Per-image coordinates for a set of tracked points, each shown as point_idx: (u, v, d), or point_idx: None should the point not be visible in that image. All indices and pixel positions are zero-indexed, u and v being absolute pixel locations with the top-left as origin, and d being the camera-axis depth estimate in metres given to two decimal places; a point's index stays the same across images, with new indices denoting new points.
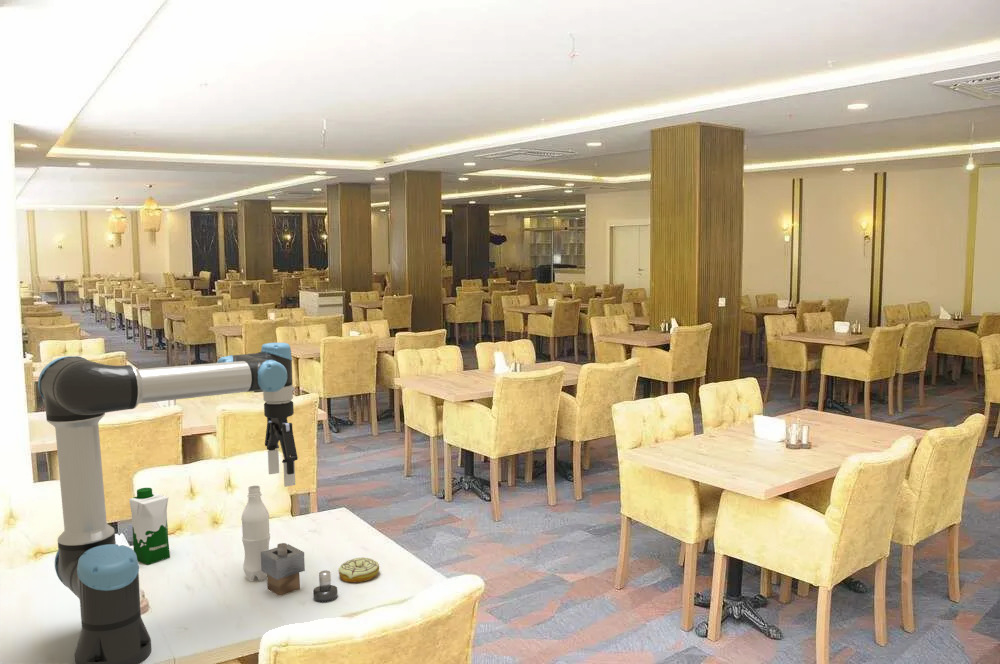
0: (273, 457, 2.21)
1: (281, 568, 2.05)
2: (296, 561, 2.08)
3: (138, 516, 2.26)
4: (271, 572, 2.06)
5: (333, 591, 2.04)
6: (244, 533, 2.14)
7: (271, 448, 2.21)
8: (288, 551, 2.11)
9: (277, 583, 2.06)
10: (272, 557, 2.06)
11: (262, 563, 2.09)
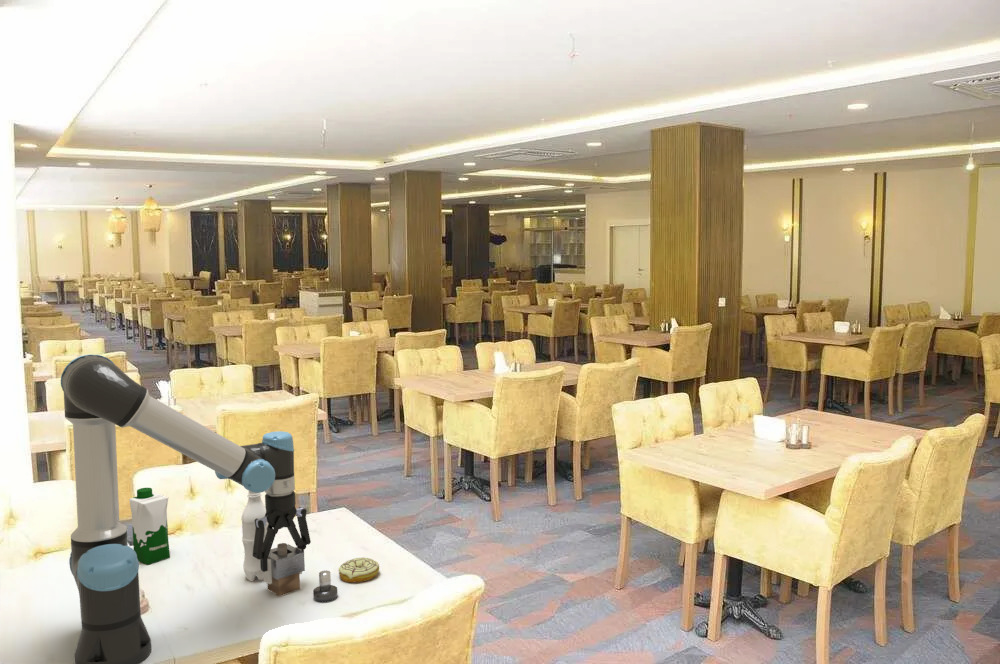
0: None
1: (281, 568, 2.05)
2: (296, 561, 2.08)
3: (138, 516, 2.26)
4: (271, 572, 2.06)
5: (333, 591, 2.04)
6: (244, 533, 2.14)
7: (297, 545, 2.13)
8: (288, 551, 2.11)
9: (277, 583, 2.06)
10: (272, 557, 2.06)
11: None
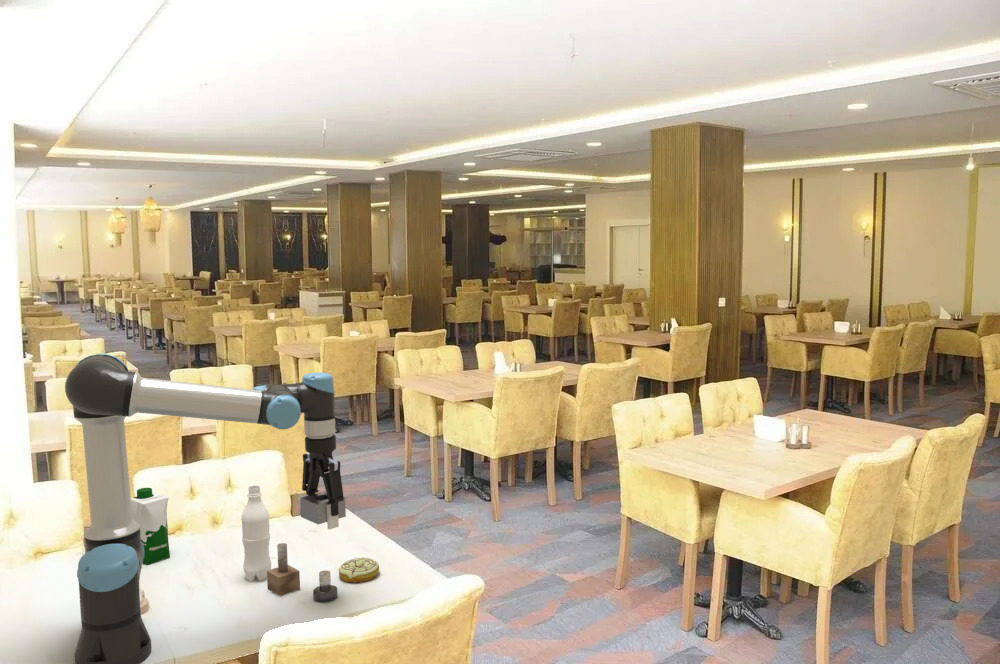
0: None
1: None
2: None
3: (138, 516, 2.26)
4: None
5: (333, 591, 2.04)
6: (244, 533, 2.14)
7: (311, 492, 2.06)
8: (316, 498, 2.04)
9: (277, 583, 2.06)
10: None
11: (320, 514, 1.98)
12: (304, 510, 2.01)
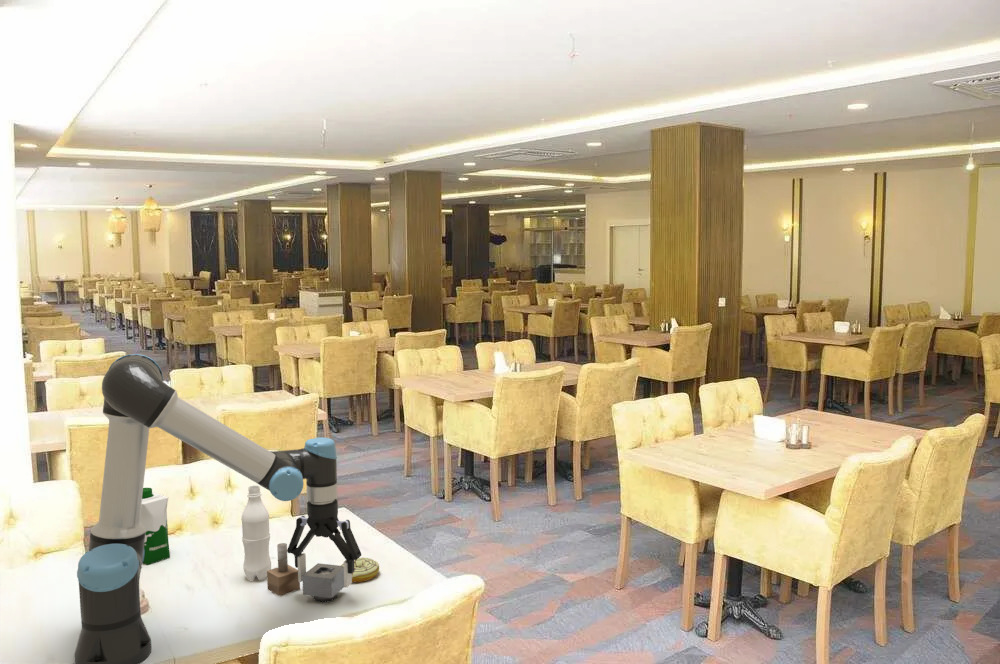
0: (302, 562, 2.06)
1: None
2: None
3: None
4: (341, 585, 2.05)
5: None
6: (244, 533, 2.14)
7: (299, 553, 2.06)
8: (316, 572, 2.05)
9: (277, 583, 2.06)
10: (339, 570, 2.05)
11: (333, 587, 2.01)
12: (310, 586, 2.02)
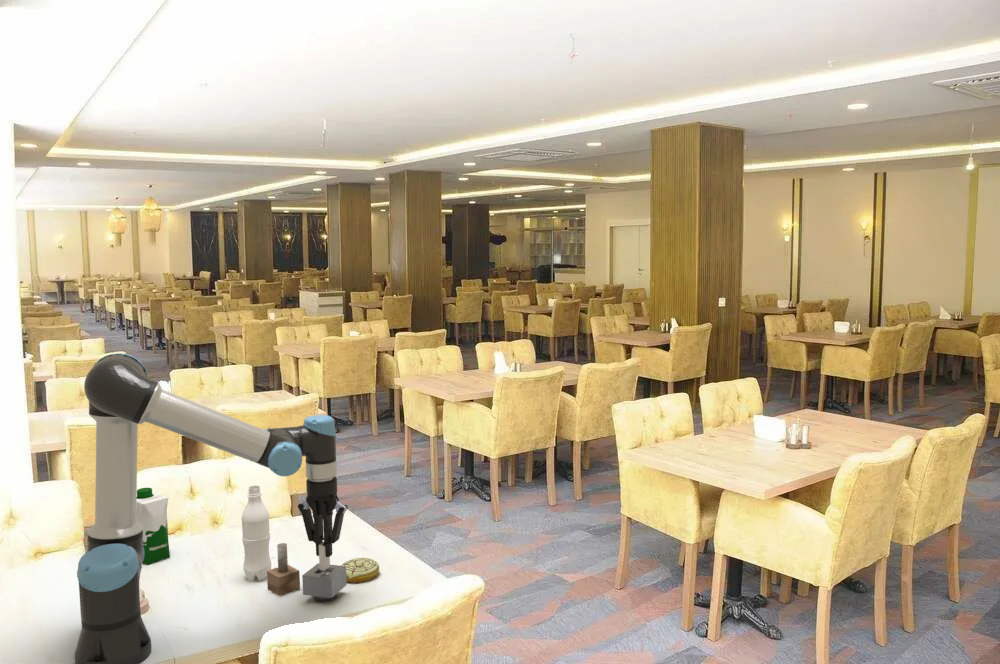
0: None
1: None
2: None
3: (138, 516, 2.26)
4: (341, 585, 2.05)
5: None
6: (244, 533, 2.14)
7: (320, 540, 2.04)
8: (316, 572, 2.05)
9: (277, 583, 2.06)
10: (339, 570, 2.05)
11: (333, 587, 2.01)
12: (310, 586, 2.02)
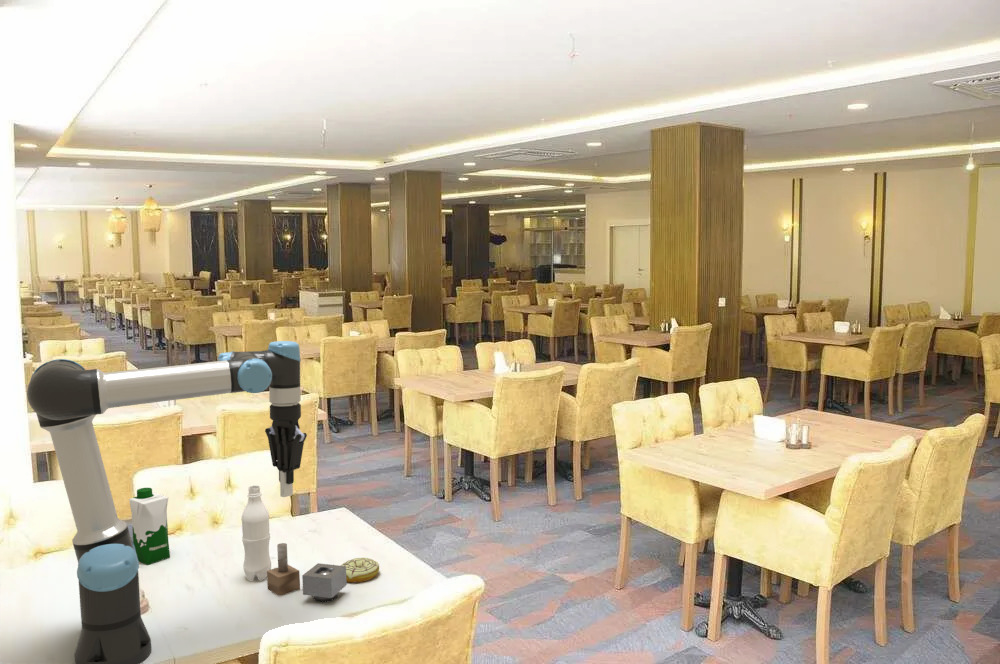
0: None
1: None
2: None
3: (138, 516, 2.26)
4: (341, 585, 2.05)
5: None
6: (244, 533, 2.14)
7: (283, 466, 2.03)
8: (316, 572, 2.05)
9: (277, 583, 2.06)
10: (339, 570, 2.05)
11: (333, 587, 2.01)
12: (310, 586, 2.02)
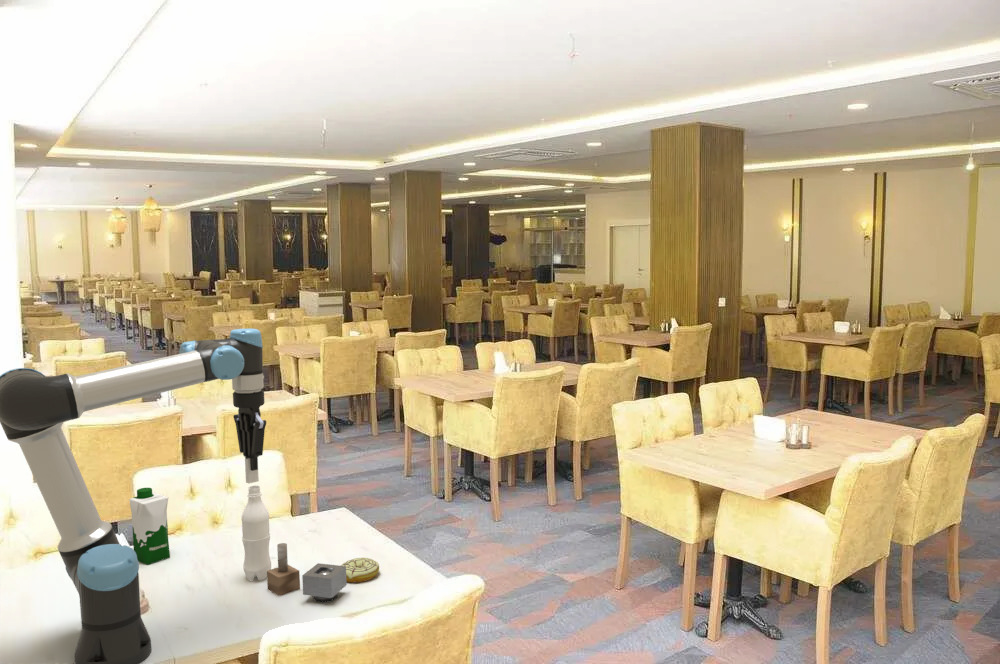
0: None
1: None
2: None
3: (138, 516, 2.26)
4: (341, 585, 2.05)
5: None
6: (244, 533, 2.14)
7: None
8: (316, 572, 2.05)
9: (277, 583, 2.06)
10: (339, 570, 2.05)
11: (333, 587, 2.01)
12: (310, 586, 2.02)
